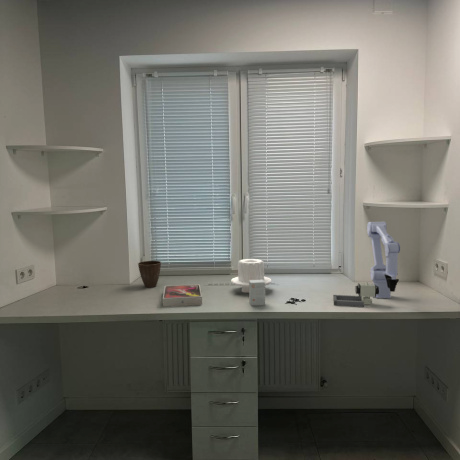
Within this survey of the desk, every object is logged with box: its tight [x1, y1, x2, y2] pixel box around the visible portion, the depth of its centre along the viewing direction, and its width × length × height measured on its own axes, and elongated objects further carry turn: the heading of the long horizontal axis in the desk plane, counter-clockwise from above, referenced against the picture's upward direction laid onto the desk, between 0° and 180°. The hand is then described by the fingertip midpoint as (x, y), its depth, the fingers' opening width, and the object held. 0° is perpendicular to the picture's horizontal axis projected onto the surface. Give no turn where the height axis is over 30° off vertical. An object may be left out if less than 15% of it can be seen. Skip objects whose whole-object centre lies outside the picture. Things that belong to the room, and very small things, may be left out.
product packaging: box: [162, 283, 203, 308], centre depth 227 cm, size 22×28×5 cm
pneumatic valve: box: [354, 282, 379, 306], centre depth 211 cm, size 6×12×12 cm, turn 81°
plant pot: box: [137, 260, 162, 289], centre depth 255 cm, size 15×15×16 cm
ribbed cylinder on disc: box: [230, 258, 272, 294], centre depth 241 cm, size 25×25×19 cm
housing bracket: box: [332, 294, 365, 308], centre depth 213 cm, size 16×12×2 cm
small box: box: [248, 280, 266, 307], centre depth 213 cm, size 8×6×13 cm
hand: (391, 289), depth 207 cm, fingers open, 7 cm apart
